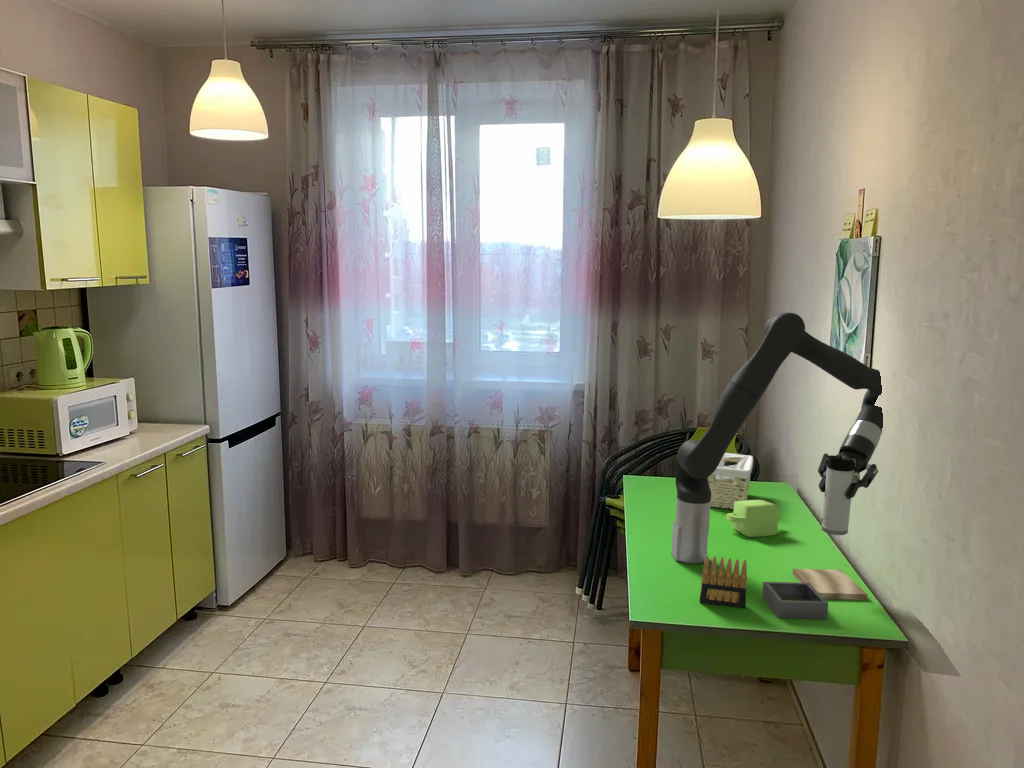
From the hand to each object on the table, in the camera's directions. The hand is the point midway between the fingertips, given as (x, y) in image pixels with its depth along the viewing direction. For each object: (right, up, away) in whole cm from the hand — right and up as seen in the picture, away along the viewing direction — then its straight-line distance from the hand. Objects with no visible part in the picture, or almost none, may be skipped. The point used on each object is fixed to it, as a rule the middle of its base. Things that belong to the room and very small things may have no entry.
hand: (834, 493), depth 189 cm
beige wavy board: (+1, -25, +5) cm, 25 cm away
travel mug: (+1, -10, +3) cm, 11 cm away
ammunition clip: (-30, -26, -7) cm, 41 cm away
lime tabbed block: (-6, -18, +45) cm, 49 cm away
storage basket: (-6, -14, +76) cm, 77 cm away
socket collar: (-13, -26, -8) cm, 31 cm away
